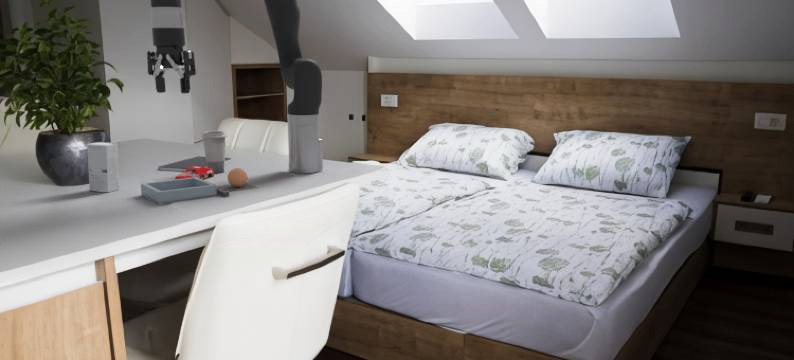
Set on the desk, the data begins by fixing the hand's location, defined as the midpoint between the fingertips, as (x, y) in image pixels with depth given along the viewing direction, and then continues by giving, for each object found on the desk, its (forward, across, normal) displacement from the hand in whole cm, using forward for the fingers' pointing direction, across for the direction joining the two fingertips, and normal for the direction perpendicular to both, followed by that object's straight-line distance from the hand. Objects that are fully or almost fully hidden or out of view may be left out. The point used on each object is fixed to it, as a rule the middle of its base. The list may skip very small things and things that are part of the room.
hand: (173, 92), depth 160 cm
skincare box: (+25, +15, +11) cm, 31 cm away
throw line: (+25, -10, -1) cm, 27 cm away
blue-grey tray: (+25, -6, +6) cm, 26 cm away
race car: (+26, +5, -10) cm, 28 cm away
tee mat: (+25, -12, -8) cm, 29 cm away
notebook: (+26, +23, -28) cm, 45 cm away
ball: (+25, -12, -8) cm, 29 cm away
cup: (+25, +10, -22) cm, 35 cm away
